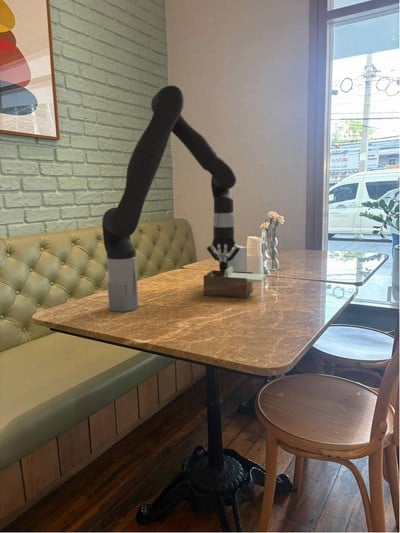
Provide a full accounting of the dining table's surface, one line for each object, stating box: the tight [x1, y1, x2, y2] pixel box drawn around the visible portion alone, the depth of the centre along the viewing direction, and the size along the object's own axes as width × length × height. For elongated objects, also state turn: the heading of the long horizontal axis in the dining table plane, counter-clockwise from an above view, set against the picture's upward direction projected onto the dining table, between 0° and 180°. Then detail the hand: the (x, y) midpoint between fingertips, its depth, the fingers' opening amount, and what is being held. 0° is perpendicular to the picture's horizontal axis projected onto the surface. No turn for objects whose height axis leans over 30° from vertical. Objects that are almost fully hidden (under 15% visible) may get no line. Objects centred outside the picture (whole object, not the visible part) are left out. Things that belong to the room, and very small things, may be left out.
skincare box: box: [228, 245, 248, 272], centre depth 165 cm, size 8×6×15 cm
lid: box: [223, 267, 267, 284], centre depth 144 cm, size 10×15×4 cm, turn 71°
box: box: [203, 269, 254, 299], centre depth 147 cm, size 11×16×7 cm
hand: (223, 271), depth 147 cm, fingers closed
